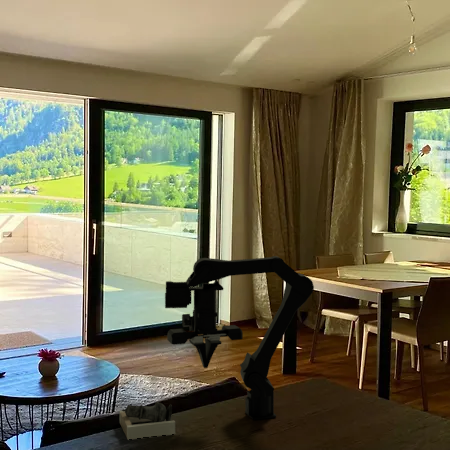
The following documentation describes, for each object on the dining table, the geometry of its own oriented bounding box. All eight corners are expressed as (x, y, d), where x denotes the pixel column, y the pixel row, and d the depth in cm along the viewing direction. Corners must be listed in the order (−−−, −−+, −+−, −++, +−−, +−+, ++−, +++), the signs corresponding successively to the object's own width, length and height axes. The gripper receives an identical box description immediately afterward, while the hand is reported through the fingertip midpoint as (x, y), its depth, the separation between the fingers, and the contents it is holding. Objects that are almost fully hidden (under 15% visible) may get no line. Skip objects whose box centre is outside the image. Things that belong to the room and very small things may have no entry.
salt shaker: (172, 413, 160) (123, 408, 158) (167, 432, 163) (119, 427, 160) (171, 398, 166) (123, 392, 163) (166, 416, 168) (119, 411, 165)
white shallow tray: (163, 417, 170) (163, 406, 170) (175, 434, 158) (175, 422, 158) (119, 422, 166) (119, 410, 166) (127, 440, 155) (127, 427, 154)
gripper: (229, 300, 179) (229, 357, 180) (162, 304, 173) (162, 363, 174) (243, 307, 169) (243, 367, 169) (172, 311, 163) (172, 373, 164)
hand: (205, 367), depth 169 cm, fingers closed
